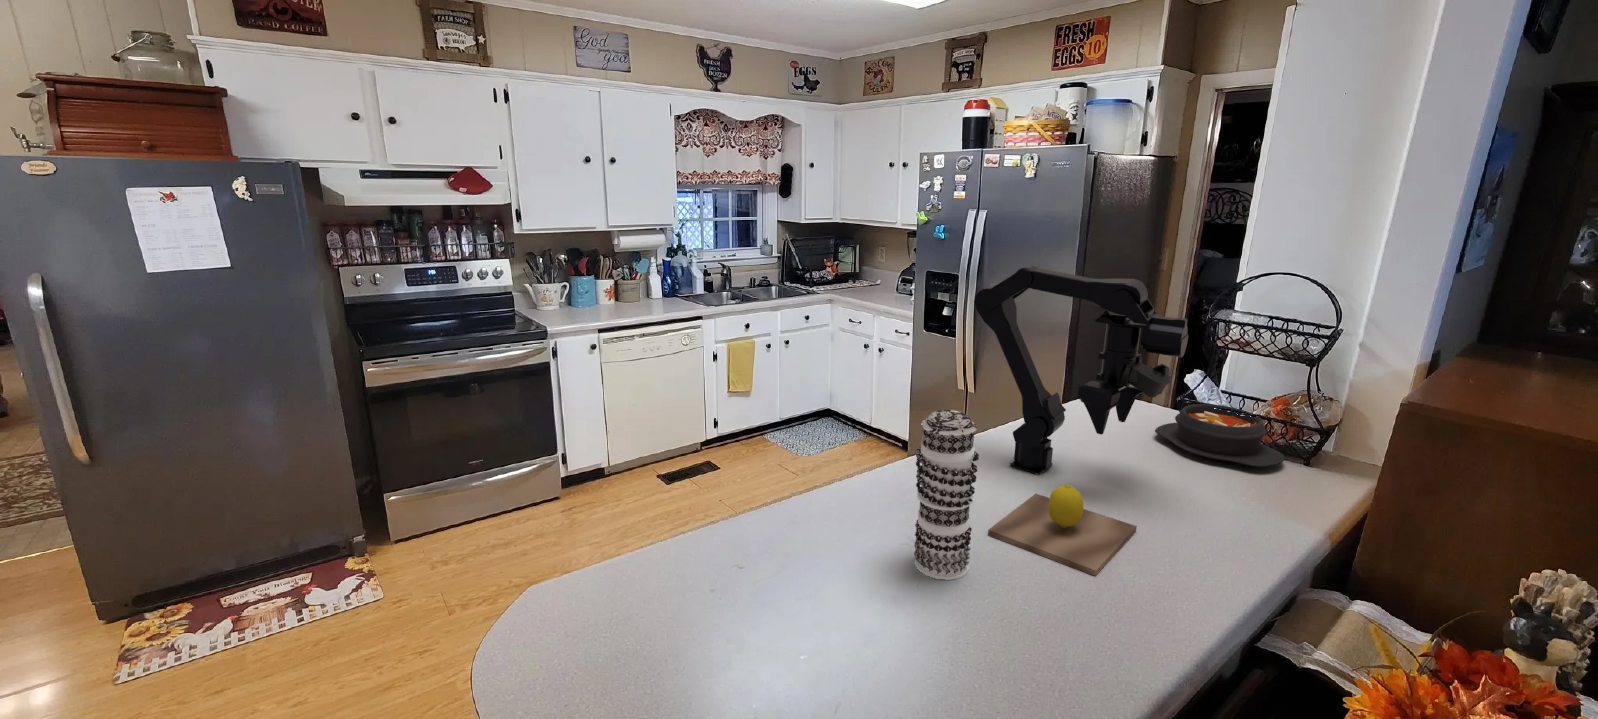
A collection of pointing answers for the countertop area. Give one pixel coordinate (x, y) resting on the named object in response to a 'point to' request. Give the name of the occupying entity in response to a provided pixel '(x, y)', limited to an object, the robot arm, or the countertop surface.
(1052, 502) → the lemon
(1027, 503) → the walnut board
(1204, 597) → the countertop surface
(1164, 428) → the casserole
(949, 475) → the decorative candle
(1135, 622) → the countertop surface
